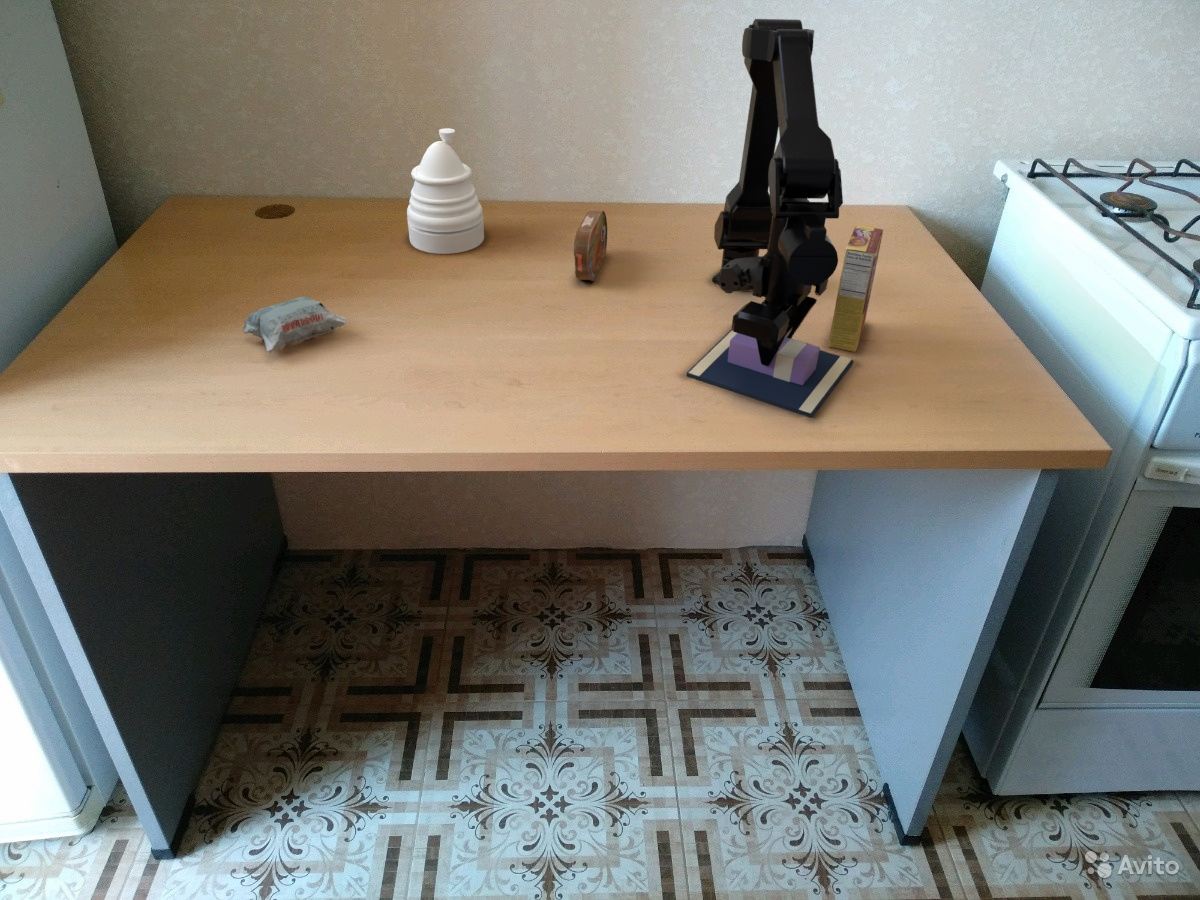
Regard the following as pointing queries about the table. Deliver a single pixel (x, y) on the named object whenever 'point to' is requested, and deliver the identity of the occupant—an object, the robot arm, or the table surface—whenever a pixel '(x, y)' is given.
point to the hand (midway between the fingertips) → (772, 356)
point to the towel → (771, 379)
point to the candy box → (855, 287)
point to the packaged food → (292, 323)
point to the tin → (590, 245)
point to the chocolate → (776, 358)
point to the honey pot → (444, 202)
